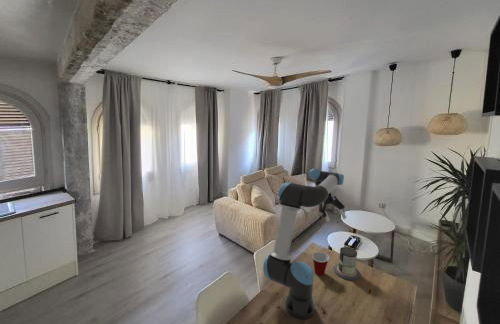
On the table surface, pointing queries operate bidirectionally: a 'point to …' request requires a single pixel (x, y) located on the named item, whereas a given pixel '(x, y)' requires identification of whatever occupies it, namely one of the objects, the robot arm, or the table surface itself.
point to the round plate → (353, 277)
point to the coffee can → (347, 261)
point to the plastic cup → (320, 262)
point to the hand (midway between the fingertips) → (337, 219)
